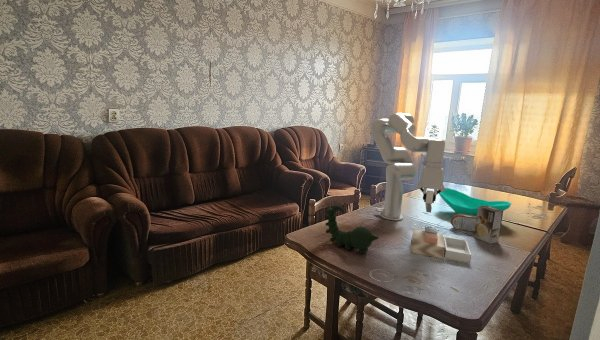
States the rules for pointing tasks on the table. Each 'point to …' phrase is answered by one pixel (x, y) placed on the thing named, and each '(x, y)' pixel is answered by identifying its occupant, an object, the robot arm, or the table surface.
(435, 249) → the wood grain block
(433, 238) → the tile terracotta
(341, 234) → the toy figurine
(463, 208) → the table top decor
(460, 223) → the tin
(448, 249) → the box
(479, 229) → the coffee box
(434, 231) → the tile slate
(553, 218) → the table surface
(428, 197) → the scraper
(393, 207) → the robot arm
